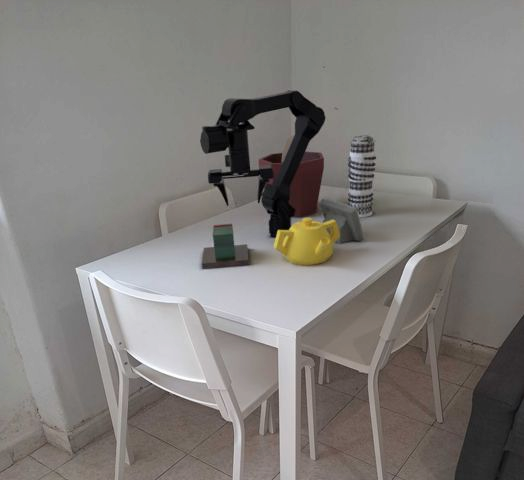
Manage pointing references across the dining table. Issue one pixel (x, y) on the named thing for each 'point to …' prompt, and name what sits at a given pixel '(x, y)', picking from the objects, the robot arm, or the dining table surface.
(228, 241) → the green box
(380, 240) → the dining table surface
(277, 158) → the bucket
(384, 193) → the dining table surface
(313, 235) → the teapot
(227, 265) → the brown square board
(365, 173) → the black white tall cylinder
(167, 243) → the dining table surface
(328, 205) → the digital clock
